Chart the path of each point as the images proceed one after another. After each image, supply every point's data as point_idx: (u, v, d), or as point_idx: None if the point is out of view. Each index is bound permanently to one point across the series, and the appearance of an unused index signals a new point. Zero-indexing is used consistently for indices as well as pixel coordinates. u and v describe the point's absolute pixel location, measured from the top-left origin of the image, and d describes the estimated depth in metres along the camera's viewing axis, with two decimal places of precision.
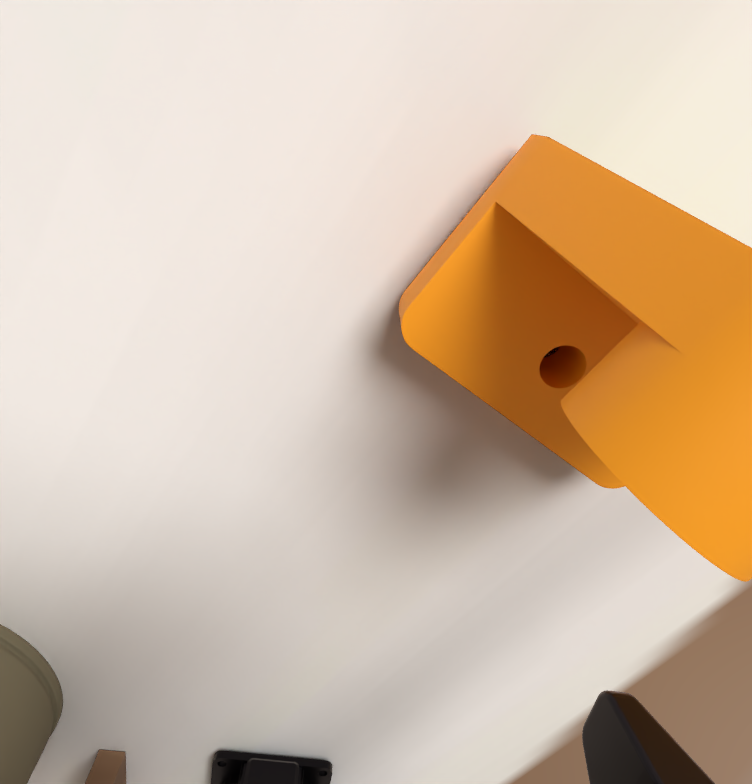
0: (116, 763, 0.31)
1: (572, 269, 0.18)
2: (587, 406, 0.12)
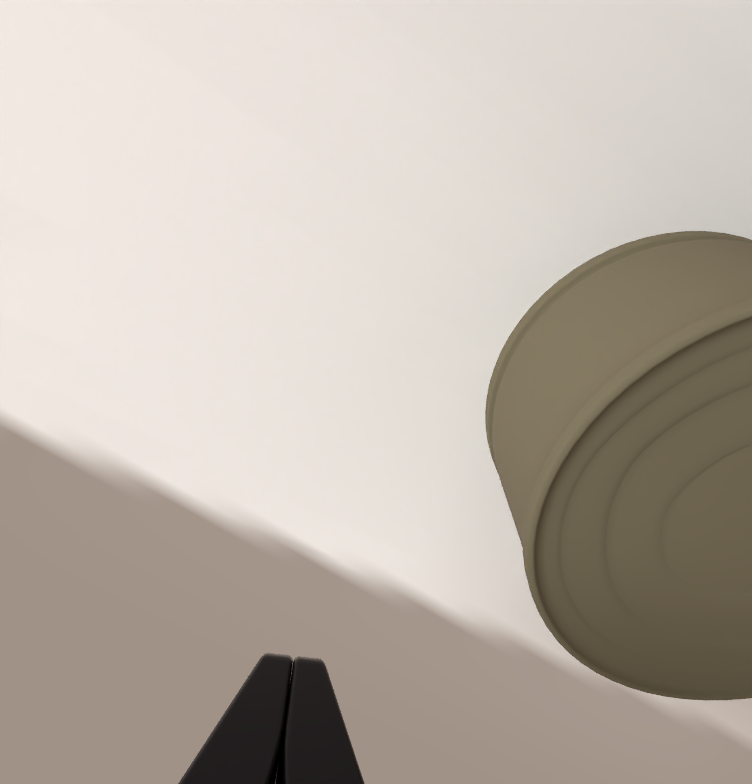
0: None
1: None
2: None
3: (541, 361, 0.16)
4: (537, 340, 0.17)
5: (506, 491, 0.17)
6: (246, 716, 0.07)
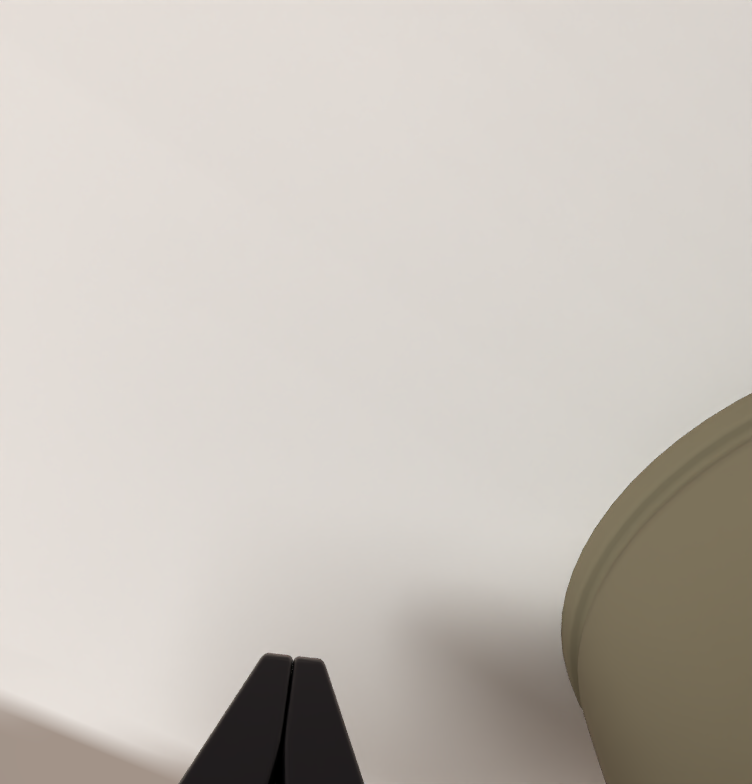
0: None
1: None
2: None
3: (711, 614, 0.08)
4: (690, 552, 0.09)
5: None
6: (246, 716, 0.07)
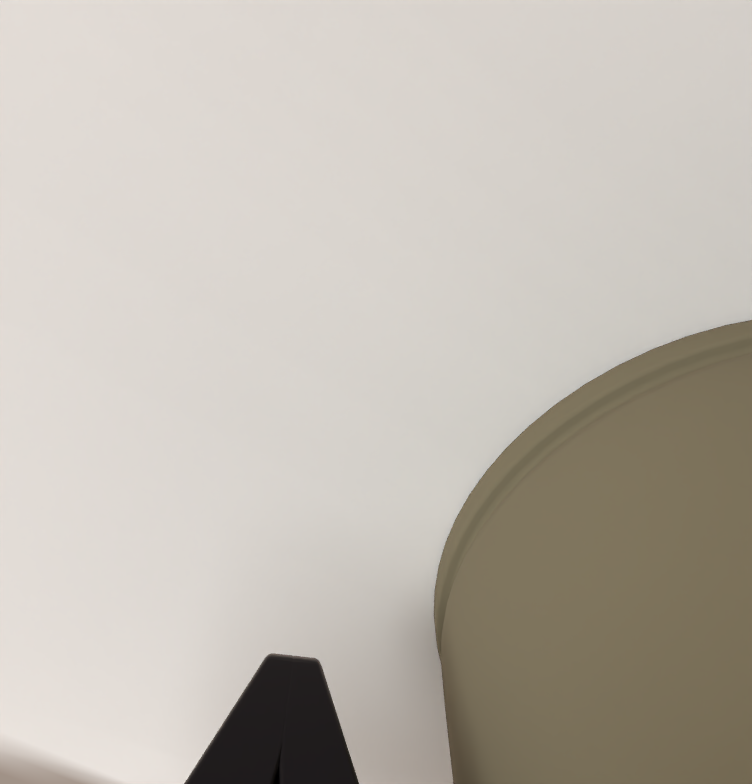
0: None
1: None
2: None
3: (519, 609, 0.08)
4: (514, 543, 0.08)
5: None
6: (251, 716, 0.07)
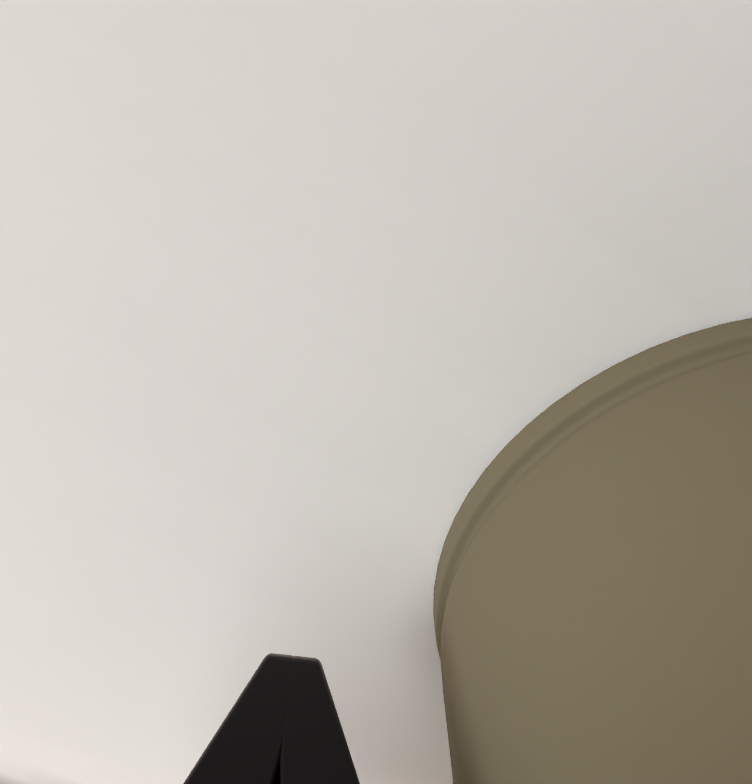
0: None
1: None
2: None
3: (516, 607, 0.08)
4: (513, 542, 0.08)
5: None
6: (250, 716, 0.07)
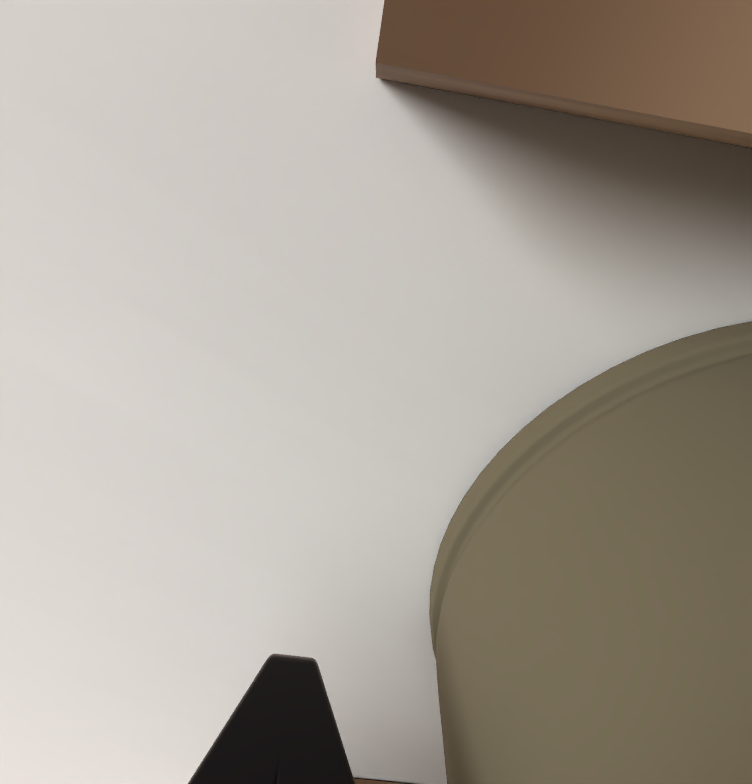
0: None
1: None
2: None
3: (511, 610, 0.08)
4: (507, 545, 0.08)
5: None
6: (254, 717, 0.07)
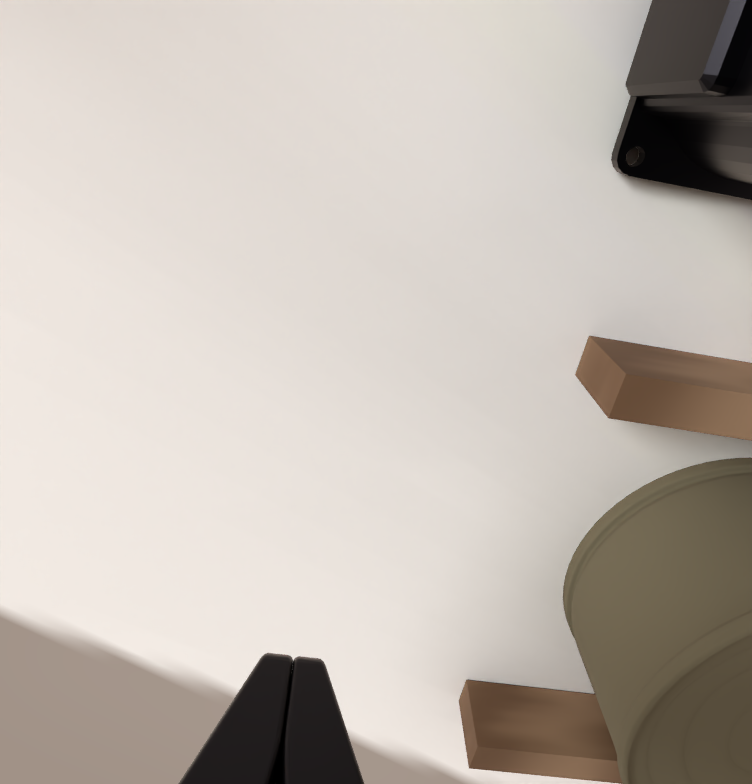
0: (593, 349, 0.18)
1: None
2: None
3: (624, 581, 0.20)
4: (618, 556, 0.20)
5: (590, 674, 0.21)
6: (246, 716, 0.07)
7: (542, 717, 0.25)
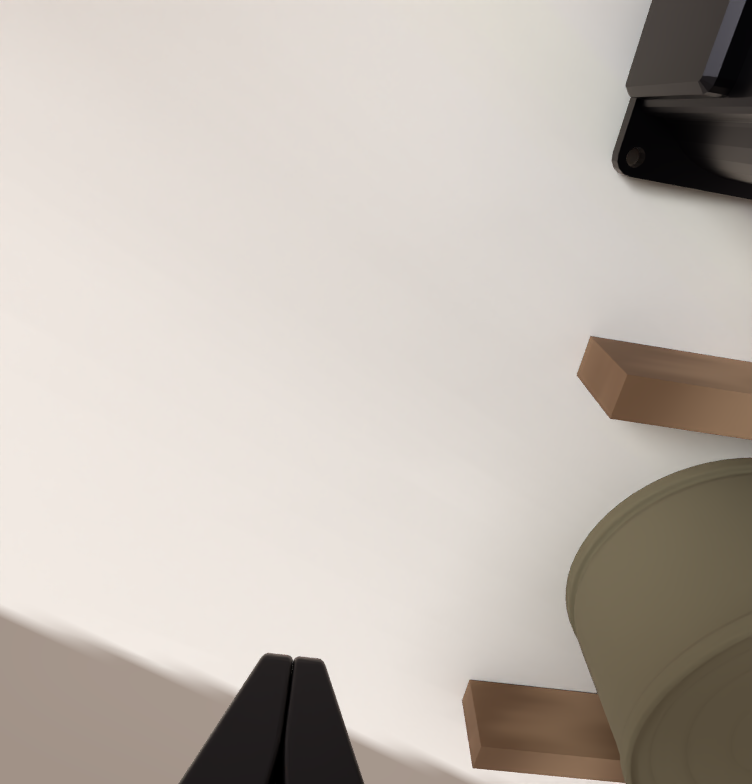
0: (595, 350, 0.18)
1: None
2: None
3: (626, 583, 0.20)
4: (620, 556, 0.20)
5: (593, 674, 0.21)
6: (246, 716, 0.07)
7: (545, 717, 0.25)
